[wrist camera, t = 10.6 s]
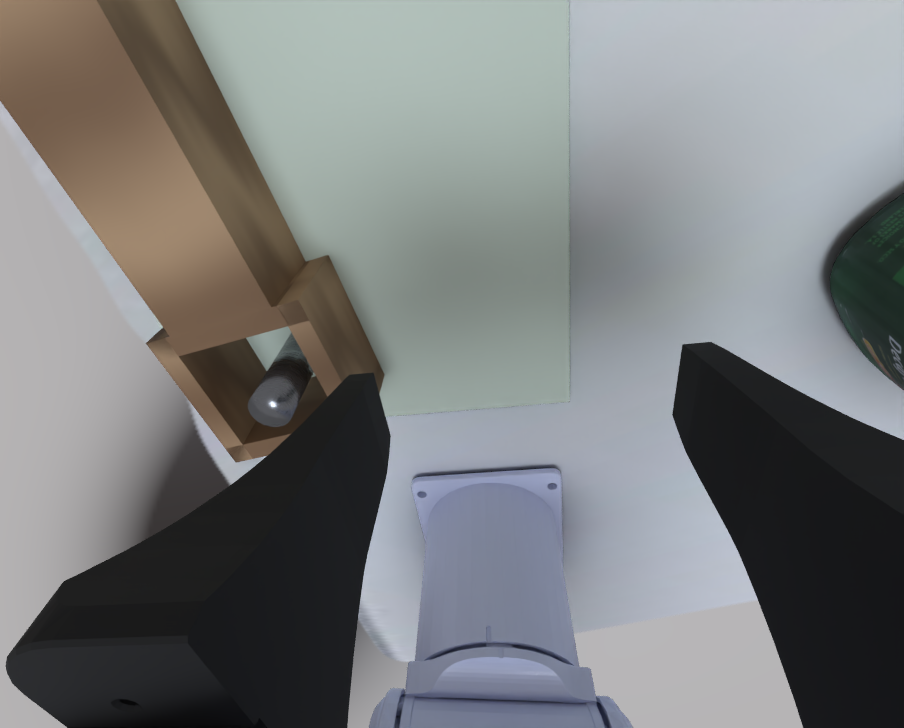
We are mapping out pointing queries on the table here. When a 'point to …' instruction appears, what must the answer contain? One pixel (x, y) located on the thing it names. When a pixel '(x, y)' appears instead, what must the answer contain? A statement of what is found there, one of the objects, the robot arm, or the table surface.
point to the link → (177, 203)
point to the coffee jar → (875, 289)
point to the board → (417, 178)
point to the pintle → (281, 386)
